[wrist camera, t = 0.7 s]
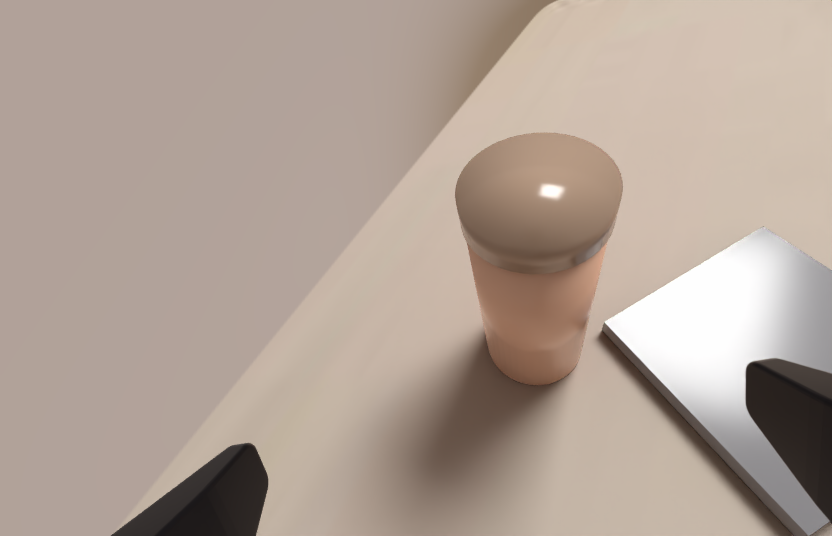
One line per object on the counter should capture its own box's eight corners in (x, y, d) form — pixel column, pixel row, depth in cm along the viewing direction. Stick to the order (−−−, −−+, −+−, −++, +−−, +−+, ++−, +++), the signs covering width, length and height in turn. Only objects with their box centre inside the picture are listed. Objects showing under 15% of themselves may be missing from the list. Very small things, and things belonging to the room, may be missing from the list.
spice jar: (605, 354, 22) (663, 192, 13) (521, 405, 22) (513, 278, 12) (543, 285, 26) (550, 113, 16) (468, 328, 25) (428, 178, 15)
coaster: (994, 396, 18) (1016, 389, 17) (795, 537, 17) (809, 536, 16) (755, 237, 24) (763, 226, 24) (601, 330, 23) (604, 322, 22)
